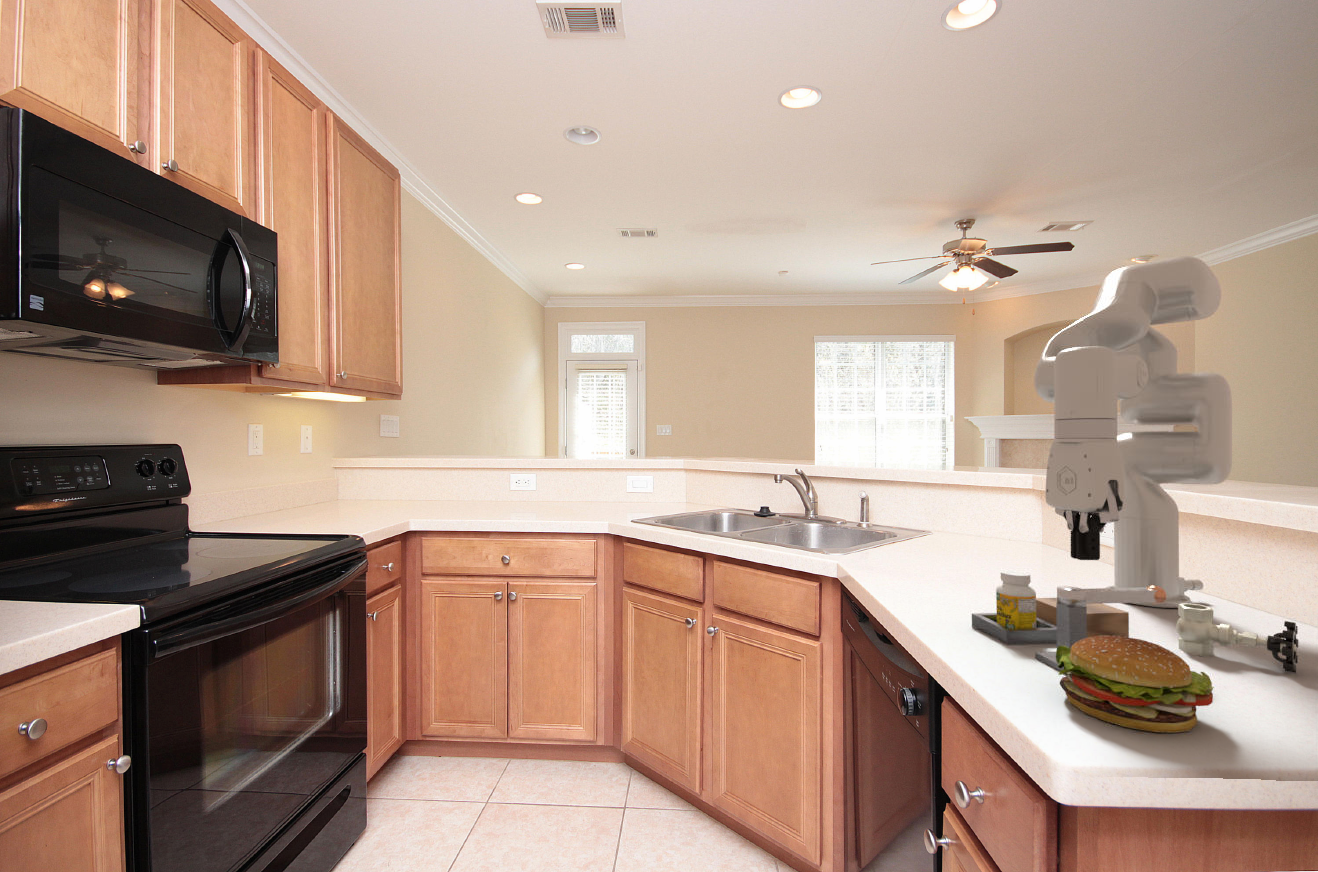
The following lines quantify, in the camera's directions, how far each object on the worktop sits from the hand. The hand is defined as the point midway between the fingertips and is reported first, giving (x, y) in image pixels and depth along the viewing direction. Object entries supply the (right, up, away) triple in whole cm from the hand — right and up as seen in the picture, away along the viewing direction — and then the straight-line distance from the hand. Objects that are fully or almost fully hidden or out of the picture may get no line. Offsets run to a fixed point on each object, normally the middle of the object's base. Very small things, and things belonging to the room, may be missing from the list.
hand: (1085, 558), depth 88 cm
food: (-8, -14, -19) cm, 25 cm away
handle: (0, -5, -6) cm, 8 cm away
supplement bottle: (-6, -13, +7) cm, 16 cm away
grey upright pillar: (-6, -13, -6) cm, 16 cm away
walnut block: (+5, -13, +9) cm, 17 cm away
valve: (+18, -13, -4) cm, 22 cm away
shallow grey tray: (-6, -13, +7) cm, 16 cm away
